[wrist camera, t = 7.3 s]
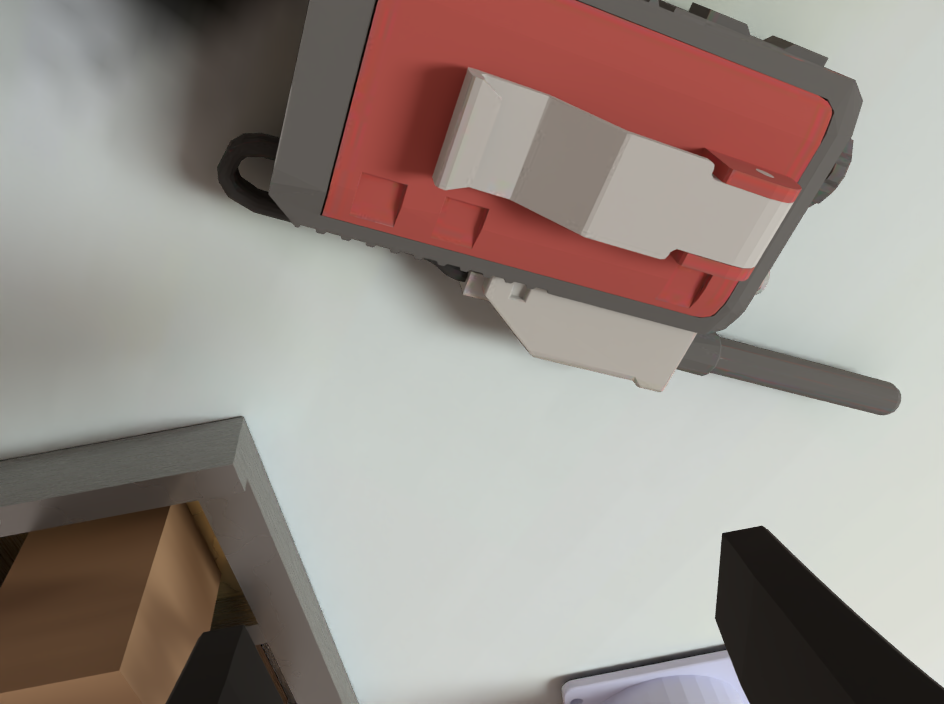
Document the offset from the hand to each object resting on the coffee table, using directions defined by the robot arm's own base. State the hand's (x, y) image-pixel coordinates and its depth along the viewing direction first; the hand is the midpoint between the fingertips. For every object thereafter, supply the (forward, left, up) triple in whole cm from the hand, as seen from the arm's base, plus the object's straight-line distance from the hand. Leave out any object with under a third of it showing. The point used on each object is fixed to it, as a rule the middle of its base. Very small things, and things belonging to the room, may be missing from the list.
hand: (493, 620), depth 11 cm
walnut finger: (-6, +11, -10) cm, 16 cm away
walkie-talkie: (+2, -6, -10) cm, 12 cm away
